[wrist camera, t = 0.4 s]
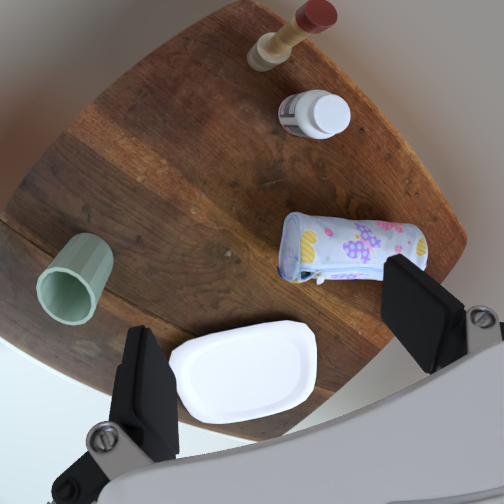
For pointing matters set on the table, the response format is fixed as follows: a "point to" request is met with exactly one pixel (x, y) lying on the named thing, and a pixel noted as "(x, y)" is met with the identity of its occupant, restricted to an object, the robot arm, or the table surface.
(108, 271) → the cup
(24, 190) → the table surface
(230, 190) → the table surface
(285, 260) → the pencil case
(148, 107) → the table surface
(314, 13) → the wooden rod
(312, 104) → the pill bottle
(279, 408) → the plate
